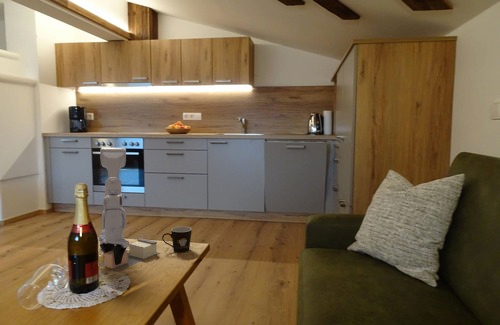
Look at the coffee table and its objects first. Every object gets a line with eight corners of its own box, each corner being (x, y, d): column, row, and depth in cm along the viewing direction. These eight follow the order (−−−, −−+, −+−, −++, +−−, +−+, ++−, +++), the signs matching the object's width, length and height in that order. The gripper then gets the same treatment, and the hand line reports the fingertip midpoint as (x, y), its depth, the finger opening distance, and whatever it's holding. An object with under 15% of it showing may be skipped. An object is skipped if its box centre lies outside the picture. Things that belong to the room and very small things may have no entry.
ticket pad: (128, 254, 142) (128, 242, 142) (141, 250, 149) (141, 237, 148) (144, 259, 138) (144, 246, 138) (157, 254, 144) (157, 241, 144)
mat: (97, 267, 132) (96, 264, 132) (141, 250, 151) (141, 248, 151) (117, 273, 126) (116, 270, 126) (160, 255, 145) (160, 253, 145)
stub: (104, 266, 130) (104, 253, 129) (120, 260, 136) (120, 248, 135) (112, 268, 128) (111, 255, 127) (127, 262, 134) (127, 249, 133)
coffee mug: (193, 249, 153) (194, 227, 153) (188, 256, 145) (188, 232, 144) (168, 248, 155) (168, 225, 154) (161, 254, 146) (161, 231, 145)
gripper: (91, 226, 130) (91, 262, 131) (117, 232, 123) (118, 270, 124) (107, 222, 136) (107, 256, 137) (133, 228, 129) (133, 264, 130)
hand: (113, 262), depth 131 cm, fingers open, 4 cm apart
